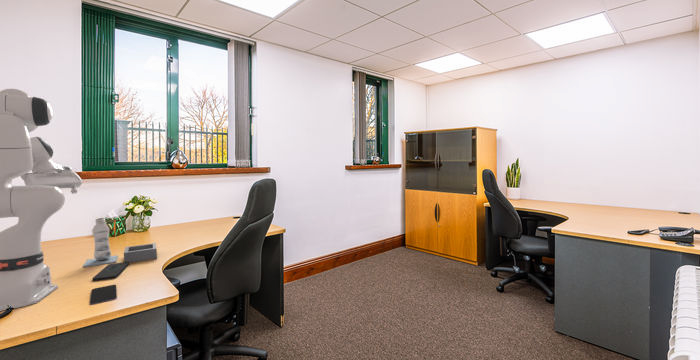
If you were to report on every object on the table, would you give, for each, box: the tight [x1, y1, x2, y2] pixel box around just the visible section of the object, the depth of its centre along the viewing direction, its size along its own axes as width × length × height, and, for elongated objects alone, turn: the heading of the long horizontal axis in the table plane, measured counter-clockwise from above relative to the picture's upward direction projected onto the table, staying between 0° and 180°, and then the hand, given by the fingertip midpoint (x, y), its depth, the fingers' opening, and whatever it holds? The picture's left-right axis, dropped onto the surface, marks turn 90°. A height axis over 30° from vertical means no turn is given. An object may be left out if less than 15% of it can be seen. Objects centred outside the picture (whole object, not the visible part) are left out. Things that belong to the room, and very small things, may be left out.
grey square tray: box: [123, 242, 158, 264], centre depth 154 cm, size 13×13×5 cm
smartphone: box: [89, 284, 118, 306], centre depth 109 cm, size 7×1×15 cm
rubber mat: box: [82, 255, 119, 268], centre depth 149 cm, size 12×12×1 cm
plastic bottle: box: [92, 217, 112, 260], centre depth 149 cm, size 6×7×20 cm
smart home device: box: [91, 261, 130, 282], centre depth 133 cm, size 8×2×20 cm
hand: (63, 193), depth 143 cm, fingers open, 8 cm apart
